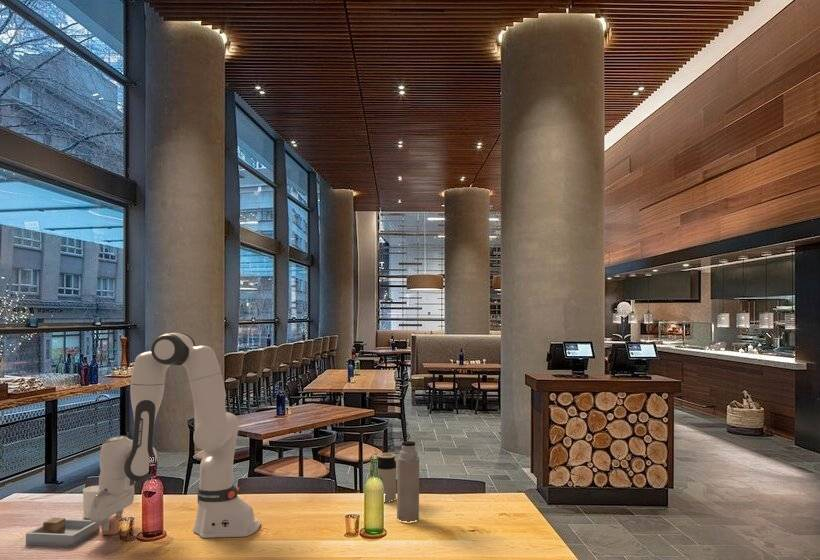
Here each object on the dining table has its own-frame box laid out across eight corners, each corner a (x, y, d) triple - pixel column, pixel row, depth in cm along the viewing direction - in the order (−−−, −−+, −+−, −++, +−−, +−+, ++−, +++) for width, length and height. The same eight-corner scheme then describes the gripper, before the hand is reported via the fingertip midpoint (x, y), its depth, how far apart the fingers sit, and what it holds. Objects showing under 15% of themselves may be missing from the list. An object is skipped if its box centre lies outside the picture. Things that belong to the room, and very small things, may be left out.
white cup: (95, 520, 214) (96, 492, 215) (76, 518, 216) (77, 490, 216) (111, 513, 222) (112, 486, 222) (92, 511, 223) (93, 484, 224)
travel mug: (391, 496, 245) (392, 451, 246) (398, 501, 238) (399, 456, 239) (373, 498, 242) (373, 453, 243) (380, 504, 235) (380, 457, 236)
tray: (99, 530, 204) (99, 520, 204) (72, 546, 190) (72, 535, 190) (55, 529, 205) (55, 518, 205) (25, 544, 191) (26, 533, 191)
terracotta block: (122, 529, 204) (122, 516, 204) (114, 534, 200) (114, 520, 200) (109, 529, 205) (109, 515, 205) (101, 534, 200) (102, 520, 200)
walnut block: (64, 531, 200) (65, 518, 200) (55, 536, 195) (56, 522, 196) (52, 531, 200) (52, 517, 201) (42, 536, 196) (43, 522, 196)
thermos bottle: (392, 519, 218) (393, 441, 219) (410, 514, 223) (410, 438, 224) (405, 525, 211) (406, 445, 213) (423, 520, 216) (423, 442, 218)
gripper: (103, 494, 192) (102, 538, 192) (138, 477, 213) (137, 516, 212) (85, 494, 193) (84, 537, 192) (121, 477, 213) (120, 516, 213)
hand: (112, 526), depth 202 cm, fingers closed on terracotta block, 4 cm apart
